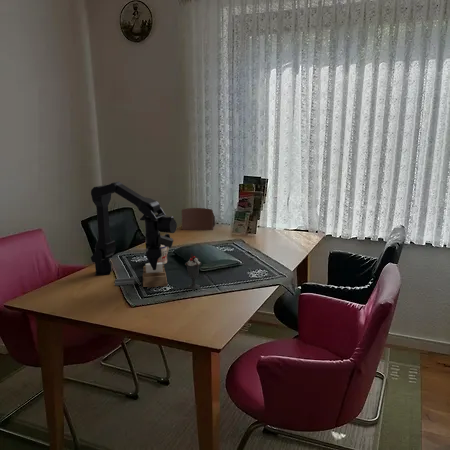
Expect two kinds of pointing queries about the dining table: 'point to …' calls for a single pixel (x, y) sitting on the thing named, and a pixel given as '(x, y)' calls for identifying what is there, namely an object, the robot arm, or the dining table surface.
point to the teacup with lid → (163, 254)
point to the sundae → (193, 270)
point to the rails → (124, 281)
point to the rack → (154, 278)
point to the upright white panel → (158, 268)
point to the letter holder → (198, 219)
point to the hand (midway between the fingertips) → (154, 266)
